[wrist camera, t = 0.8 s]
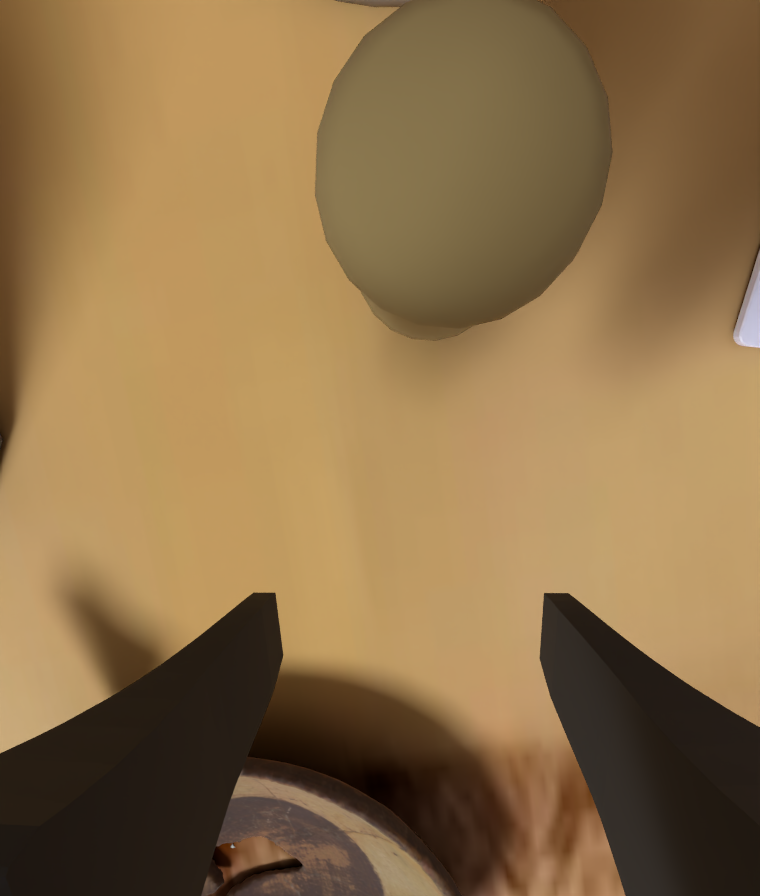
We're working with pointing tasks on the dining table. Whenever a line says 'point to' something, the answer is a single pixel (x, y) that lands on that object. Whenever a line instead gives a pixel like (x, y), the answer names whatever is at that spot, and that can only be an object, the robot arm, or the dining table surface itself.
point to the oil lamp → (325, 838)
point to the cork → (461, 161)
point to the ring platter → (377, 2)
